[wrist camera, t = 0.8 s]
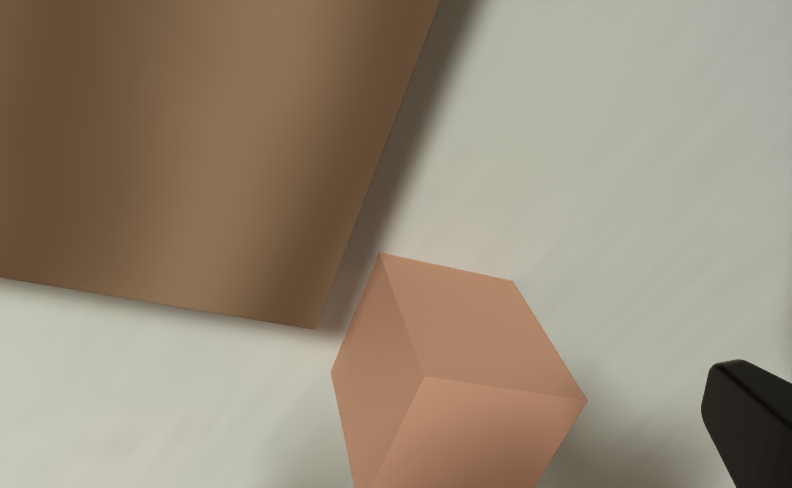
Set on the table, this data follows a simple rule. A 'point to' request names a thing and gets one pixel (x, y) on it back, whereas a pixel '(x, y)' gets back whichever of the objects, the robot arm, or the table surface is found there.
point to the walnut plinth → (196, 144)
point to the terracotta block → (449, 382)
